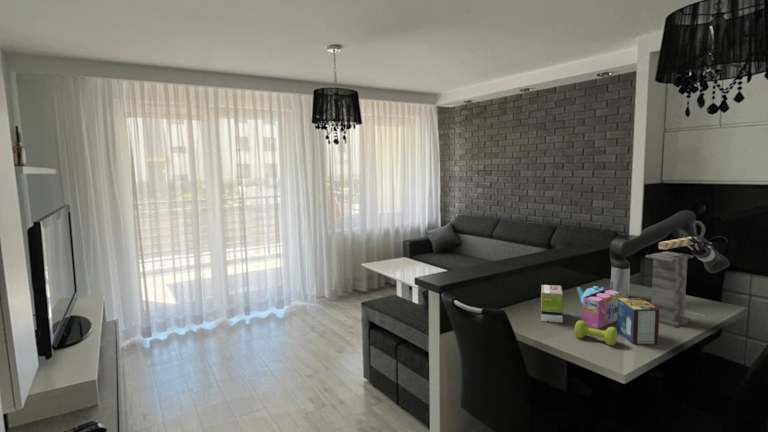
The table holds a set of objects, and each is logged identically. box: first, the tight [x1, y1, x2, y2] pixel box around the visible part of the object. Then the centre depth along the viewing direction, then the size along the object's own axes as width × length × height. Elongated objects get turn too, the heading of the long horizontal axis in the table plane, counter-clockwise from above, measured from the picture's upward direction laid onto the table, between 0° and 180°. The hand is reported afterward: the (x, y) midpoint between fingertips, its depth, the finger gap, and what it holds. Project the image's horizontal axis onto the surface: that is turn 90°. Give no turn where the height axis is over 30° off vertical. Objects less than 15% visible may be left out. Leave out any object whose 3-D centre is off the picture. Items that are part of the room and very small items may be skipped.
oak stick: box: [658, 237, 697, 251], centre depth 204 cm, size 27×3×3 cm, turn 118°
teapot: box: [576, 285, 605, 305], centre depth 228 cm, size 15×15×11 cm
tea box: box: [540, 284, 564, 323], centre depth 213 cm, size 15×10×15 cm
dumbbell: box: [573, 319, 619, 347], centre depth 184 cm, size 16×8×7 cm, turn 47°
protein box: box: [616, 297, 660, 345], centre depth 185 cm, size 10×15×16 cm
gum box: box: [582, 288, 622, 330], centre depth 206 cm, size 24×8×14 cm, turn 126°
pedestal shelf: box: [644, 250, 695, 328], centre depth 204 cm, size 18×14×32 cm
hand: (687, 238), depth 208 cm, fingers closed on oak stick, 3 cm apart
